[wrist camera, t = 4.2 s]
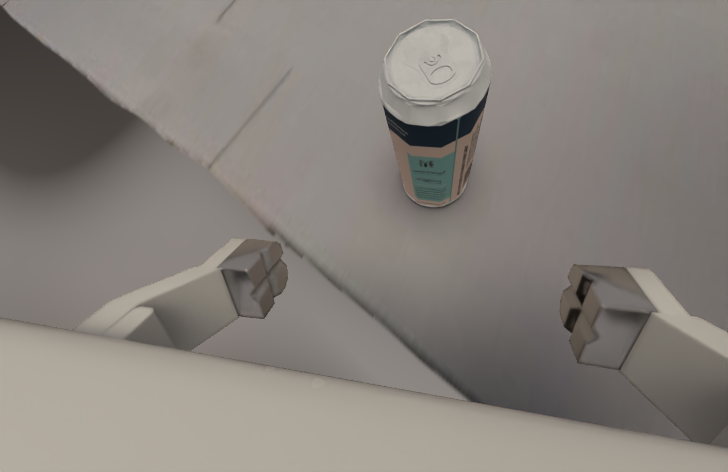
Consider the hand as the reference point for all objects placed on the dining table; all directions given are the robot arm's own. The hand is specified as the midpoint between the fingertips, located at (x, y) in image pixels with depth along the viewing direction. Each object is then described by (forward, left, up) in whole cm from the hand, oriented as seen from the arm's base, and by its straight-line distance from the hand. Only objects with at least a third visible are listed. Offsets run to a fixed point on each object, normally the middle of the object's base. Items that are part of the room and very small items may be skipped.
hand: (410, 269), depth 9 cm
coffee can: (+8, -3, -14) cm, 16 cm away
